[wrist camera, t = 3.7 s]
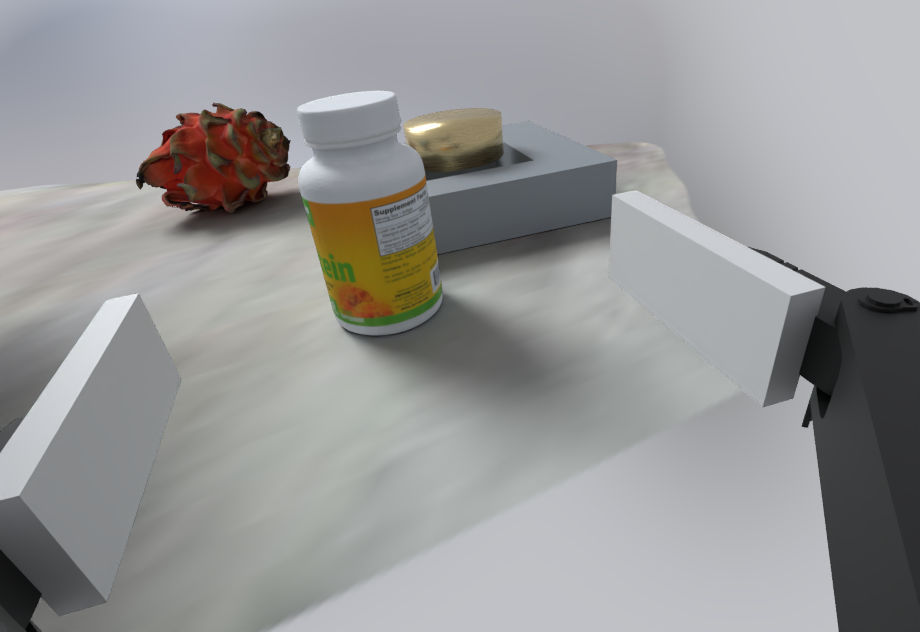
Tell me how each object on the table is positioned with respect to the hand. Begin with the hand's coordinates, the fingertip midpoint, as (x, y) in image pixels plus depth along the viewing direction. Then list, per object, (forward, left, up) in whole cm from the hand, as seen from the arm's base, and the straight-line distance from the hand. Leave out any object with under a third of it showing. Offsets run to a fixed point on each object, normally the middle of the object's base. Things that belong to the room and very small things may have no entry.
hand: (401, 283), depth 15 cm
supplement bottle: (0, +10, -6) cm, 11 cm away
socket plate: (+7, +22, -6) cm, 23 cm away
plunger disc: (+7, +22, -3) cm, 23 cm away
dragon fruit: (-10, +32, -6) cm, 35 cm away
